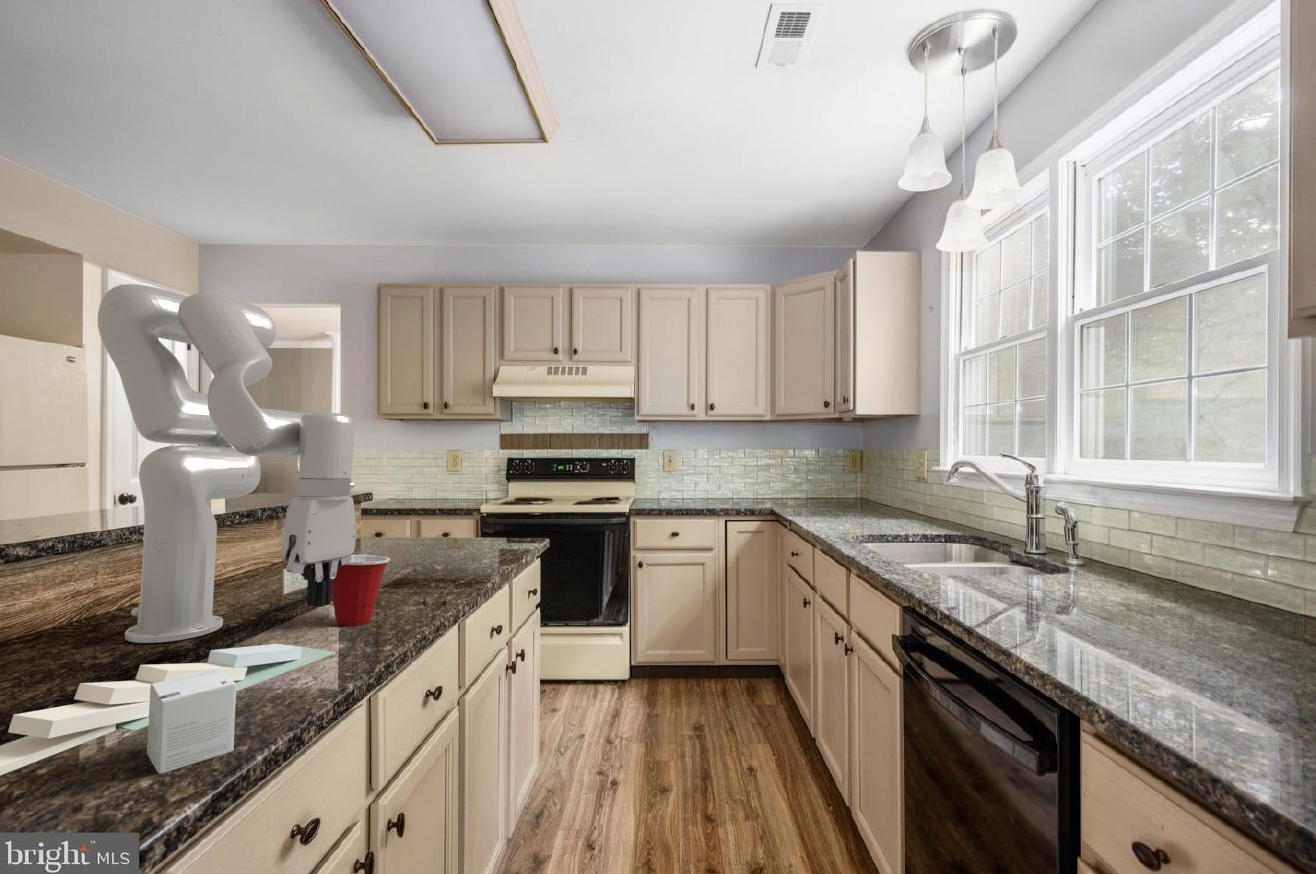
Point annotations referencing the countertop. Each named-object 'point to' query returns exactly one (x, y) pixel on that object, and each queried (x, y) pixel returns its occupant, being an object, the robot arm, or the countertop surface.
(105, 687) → the domino
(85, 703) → the domino
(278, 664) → the strip
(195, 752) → the skincare box
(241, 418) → the robot arm
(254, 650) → the domino
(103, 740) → the countertop surface
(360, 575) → the plastic cup
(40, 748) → the domino
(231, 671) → the domino
